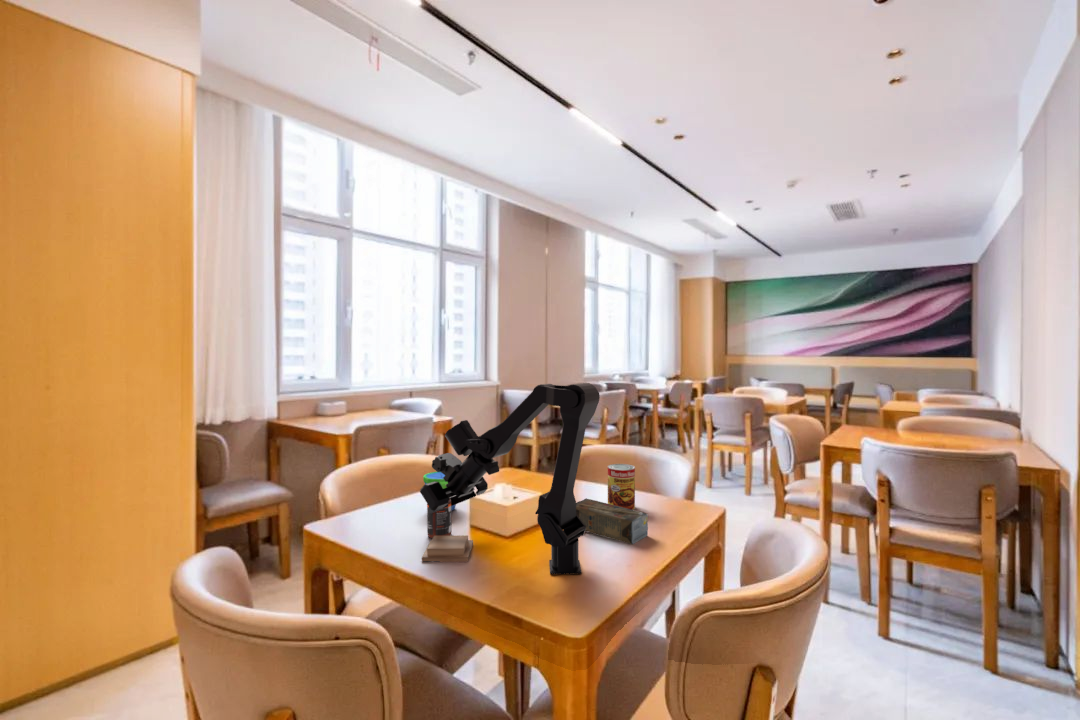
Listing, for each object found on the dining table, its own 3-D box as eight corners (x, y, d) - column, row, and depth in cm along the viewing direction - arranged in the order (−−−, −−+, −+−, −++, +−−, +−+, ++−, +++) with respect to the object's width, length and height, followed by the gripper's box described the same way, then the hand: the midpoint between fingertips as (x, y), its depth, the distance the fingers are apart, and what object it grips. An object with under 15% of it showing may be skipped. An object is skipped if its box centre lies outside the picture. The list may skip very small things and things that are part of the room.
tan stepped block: (467, 561, 113) (467, 550, 113) (421, 561, 113) (421, 550, 113) (473, 544, 123) (473, 533, 123) (430, 544, 123) (430, 534, 123)
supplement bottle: (456, 535, 130) (456, 489, 129) (437, 541, 125) (437, 495, 125) (441, 529, 134) (441, 485, 133) (422, 536, 129) (422, 490, 129)
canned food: (613, 512, 147) (613, 470, 147) (603, 504, 155) (603, 464, 155) (639, 510, 149) (639, 468, 149) (628, 502, 157) (628, 463, 156)
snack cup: (423, 503, 157) (423, 469, 157) (458, 500, 159) (458, 467, 159) (423, 519, 142) (423, 482, 141) (462, 516, 144) (462, 480, 144)
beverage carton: (632, 546, 123) (632, 518, 123) (567, 528, 135) (567, 503, 135) (648, 536, 129) (648, 510, 129) (585, 520, 141) (585, 496, 141)
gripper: (478, 438, 134) (447, 475, 140) (425, 450, 118) (392, 491, 125) (503, 472, 130) (469, 509, 136) (451, 489, 114) (416, 530, 120)
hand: (438, 508), depth 129 cm, fingers closed on supplement bottle, 6 cm apart
